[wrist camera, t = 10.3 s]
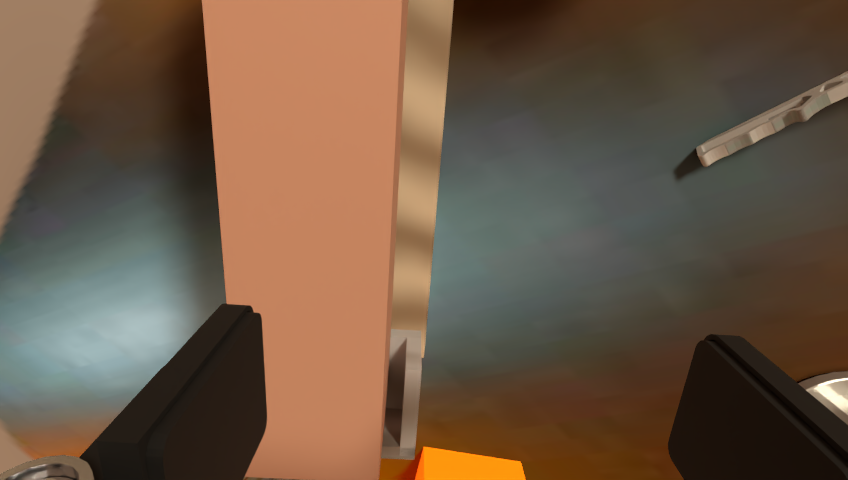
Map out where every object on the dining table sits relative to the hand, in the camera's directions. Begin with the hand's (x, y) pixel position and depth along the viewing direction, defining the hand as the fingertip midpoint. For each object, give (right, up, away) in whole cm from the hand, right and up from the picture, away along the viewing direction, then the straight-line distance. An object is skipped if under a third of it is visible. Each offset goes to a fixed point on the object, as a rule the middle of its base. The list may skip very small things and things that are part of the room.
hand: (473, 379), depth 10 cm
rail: (-5, +7, +13) cm, 15 cm away
